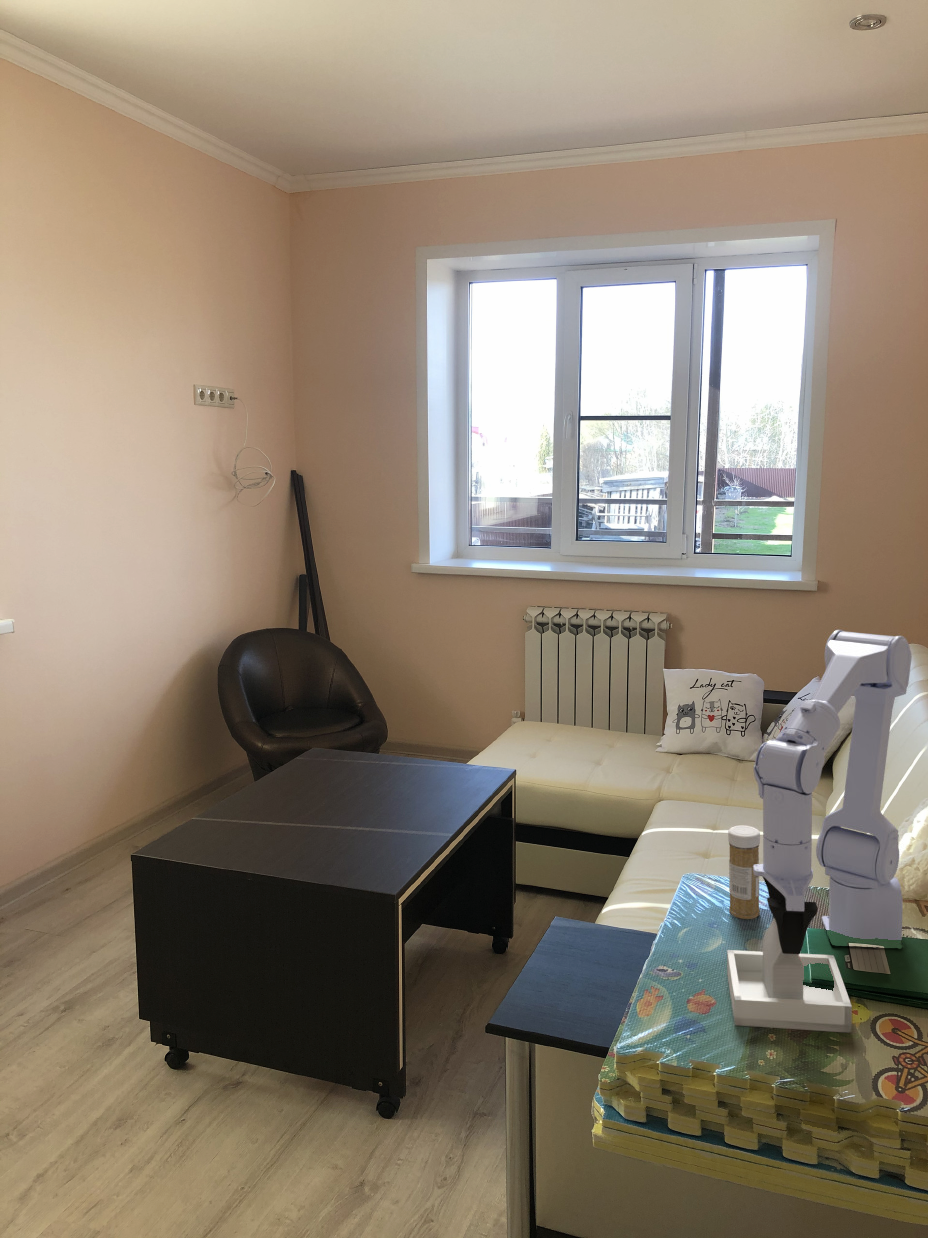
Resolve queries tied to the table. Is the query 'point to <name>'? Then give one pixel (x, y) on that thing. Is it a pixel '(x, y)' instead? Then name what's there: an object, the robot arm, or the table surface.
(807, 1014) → the bin
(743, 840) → the sprinkles bottle
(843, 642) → the robot arm
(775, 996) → the white gable-top carton
